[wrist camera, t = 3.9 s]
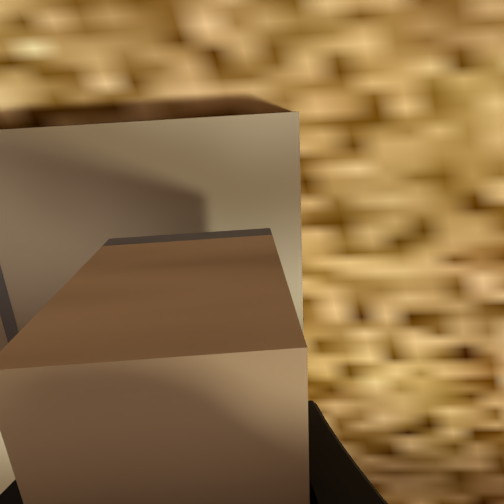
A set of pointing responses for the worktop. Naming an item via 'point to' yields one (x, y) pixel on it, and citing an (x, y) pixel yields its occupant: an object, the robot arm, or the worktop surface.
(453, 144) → the worktop surface
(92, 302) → the block
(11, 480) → the board
